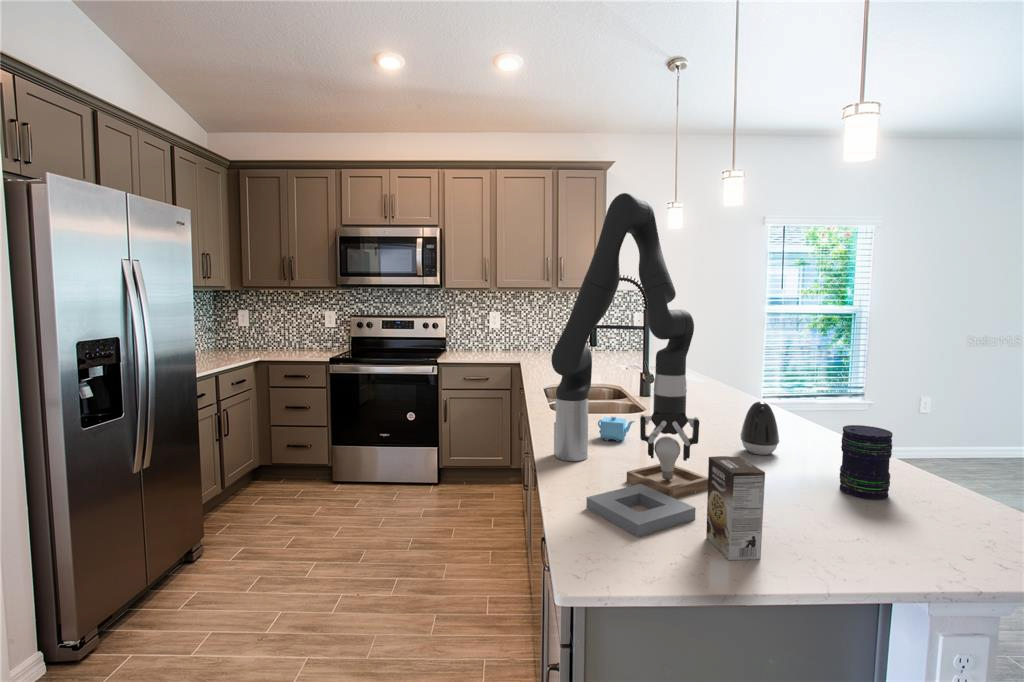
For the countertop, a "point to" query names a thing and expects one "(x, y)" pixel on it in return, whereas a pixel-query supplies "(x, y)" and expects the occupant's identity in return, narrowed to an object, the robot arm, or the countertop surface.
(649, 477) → the tray
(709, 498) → the coffee box
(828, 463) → the countertop surface
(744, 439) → the black egg-shaped device
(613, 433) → the teapot
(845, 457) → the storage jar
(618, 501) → the socket block
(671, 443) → the lightbulb
